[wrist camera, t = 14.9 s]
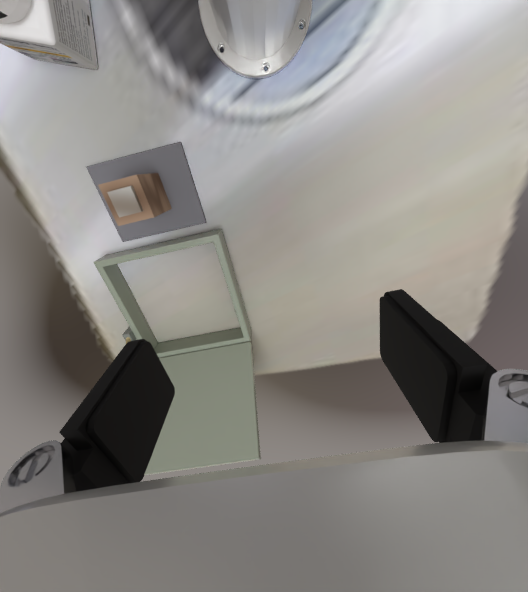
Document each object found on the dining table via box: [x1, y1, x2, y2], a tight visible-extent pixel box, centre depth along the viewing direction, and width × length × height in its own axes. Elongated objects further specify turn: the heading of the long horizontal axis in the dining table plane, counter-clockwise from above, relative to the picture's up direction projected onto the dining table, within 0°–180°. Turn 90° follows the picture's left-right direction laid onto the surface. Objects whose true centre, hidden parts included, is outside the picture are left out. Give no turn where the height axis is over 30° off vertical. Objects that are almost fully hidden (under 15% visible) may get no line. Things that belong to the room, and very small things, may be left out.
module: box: [98, 173, 172, 226], centre depth 34 cm, size 5×5×8 cm
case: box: [94, 229, 261, 475], centre depth 38 cm, size 29×21×20 cm
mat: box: [87, 142, 206, 242], centre depth 37 cm, size 11×14×1 cm
